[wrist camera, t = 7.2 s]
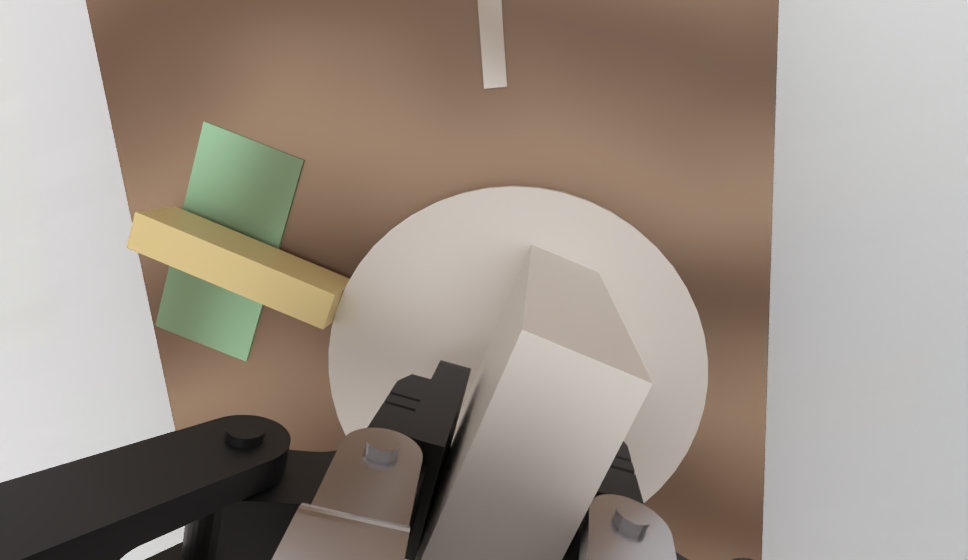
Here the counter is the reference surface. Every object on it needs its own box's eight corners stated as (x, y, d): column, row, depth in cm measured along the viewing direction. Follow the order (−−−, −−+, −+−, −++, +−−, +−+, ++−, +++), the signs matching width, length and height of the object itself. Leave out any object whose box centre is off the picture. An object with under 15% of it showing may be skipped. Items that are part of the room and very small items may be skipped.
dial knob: (765, 273, 14) (1024, 408, 7) (603, 571, 17) (656, 926, 9) (216, 46, 15) (-152, -77, 7) (132, 373, 17) (-211, 557, 9)
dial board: (736, 603, 19) (759, 655, 17) (248, 596, 22) (217, 642, 19) (753, -192, 14) (788, -249, 12) (114, -100, 16) (54, -136, 14)
